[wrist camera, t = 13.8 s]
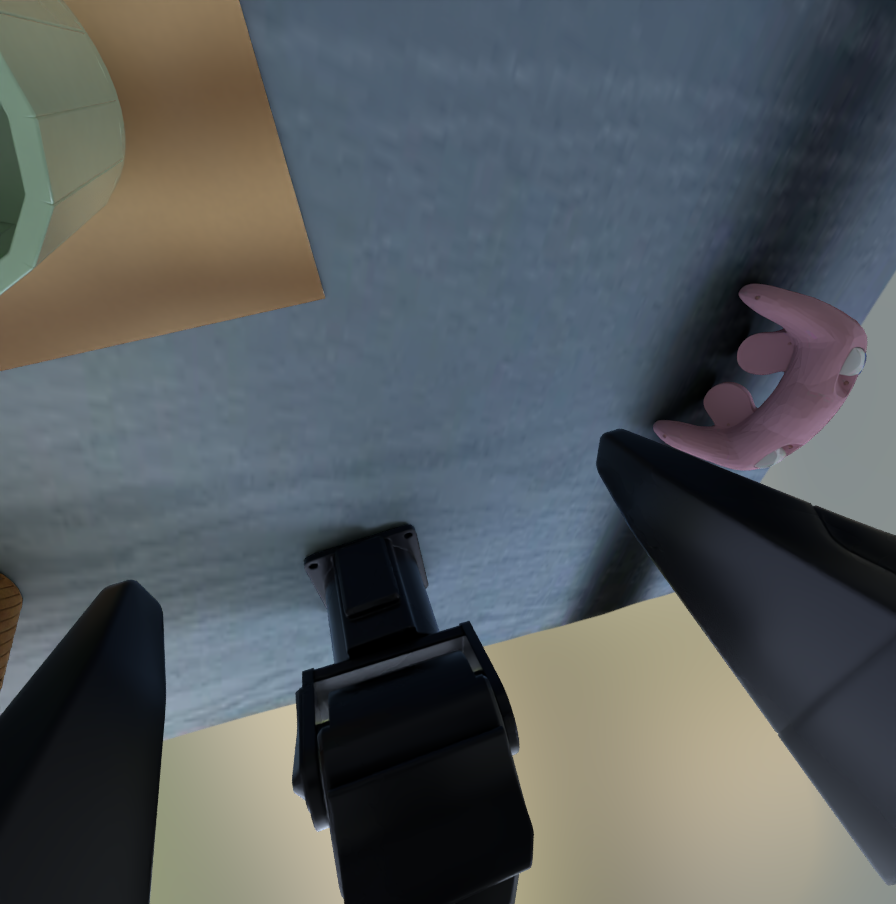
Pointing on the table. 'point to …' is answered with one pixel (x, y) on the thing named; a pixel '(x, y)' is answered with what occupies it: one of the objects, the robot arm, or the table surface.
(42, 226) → the glazed cup
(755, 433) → the video game controller
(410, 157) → the table surface
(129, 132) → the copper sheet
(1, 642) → the disposable coffee cup
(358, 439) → the table surface
